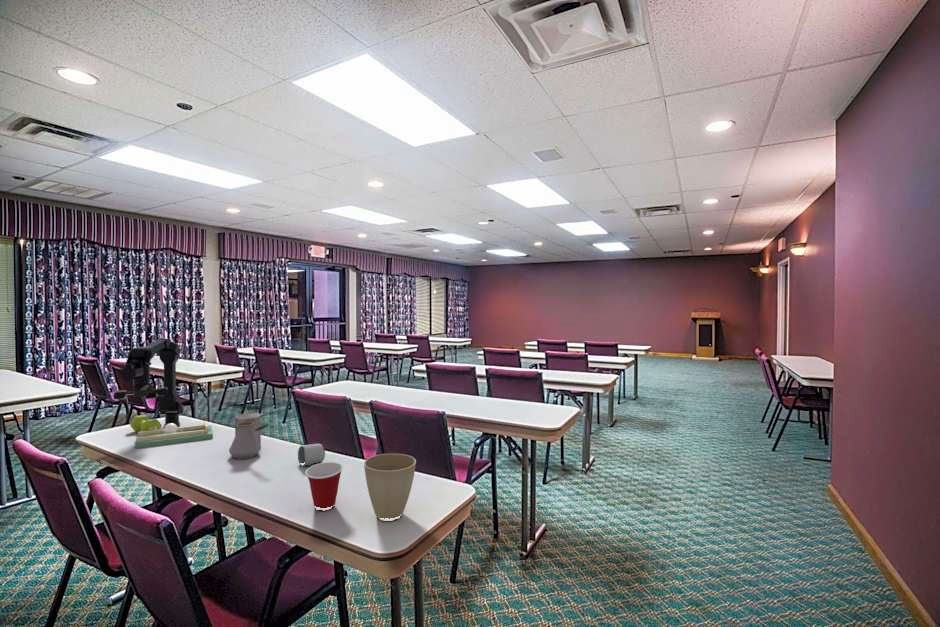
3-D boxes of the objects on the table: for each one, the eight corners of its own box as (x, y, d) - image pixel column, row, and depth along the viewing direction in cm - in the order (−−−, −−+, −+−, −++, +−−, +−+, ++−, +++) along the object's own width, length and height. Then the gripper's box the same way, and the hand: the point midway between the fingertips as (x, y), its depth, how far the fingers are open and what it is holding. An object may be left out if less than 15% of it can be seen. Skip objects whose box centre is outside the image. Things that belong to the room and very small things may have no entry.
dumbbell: (162, 434, 208) (162, 418, 208) (142, 438, 202) (142, 422, 202) (148, 428, 218) (148, 413, 218) (129, 431, 211) (129, 416, 211)
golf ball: (164, 433, 202) (164, 422, 202) (177, 432, 205) (177, 421, 205) (163, 436, 198) (163, 425, 198) (177, 435, 201) (177, 423, 200)
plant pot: (402, 531, 122) (403, 473, 122) (353, 524, 126) (354, 467, 126) (423, 508, 137) (423, 455, 136) (378, 501, 141) (379, 450, 140)
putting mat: (138, 438, 202) (138, 427, 202) (211, 429, 217) (211, 419, 217) (135, 448, 188) (135, 436, 188) (212, 438, 203) (212, 427, 203)
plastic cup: (296, 510, 134) (297, 470, 134) (324, 497, 143) (324, 459, 143) (323, 519, 129) (323, 477, 129) (350, 504, 138) (350, 465, 138)
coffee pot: (223, 457, 179) (223, 419, 179) (250, 449, 189) (250, 413, 188) (254, 468, 168) (254, 427, 167) (282, 459, 177) (282, 421, 177)
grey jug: (240, 444, 195) (240, 409, 195) (264, 443, 196) (264, 409, 196) (231, 451, 186) (230, 415, 185) (256, 451, 187) (255, 415, 186)
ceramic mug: (326, 463, 173) (326, 443, 173) (305, 468, 167) (305, 448, 167) (314, 457, 181) (314, 438, 181) (293, 462, 175) (293, 442, 175)
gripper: (112, 381, 183) (112, 419, 183) (167, 377, 193) (167, 414, 194) (114, 377, 192) (115, 413, 193) (167, 374, 203) (167, 408, 203)
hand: (141, 412), depth 195 cm, fingers open, 9 cm apart
